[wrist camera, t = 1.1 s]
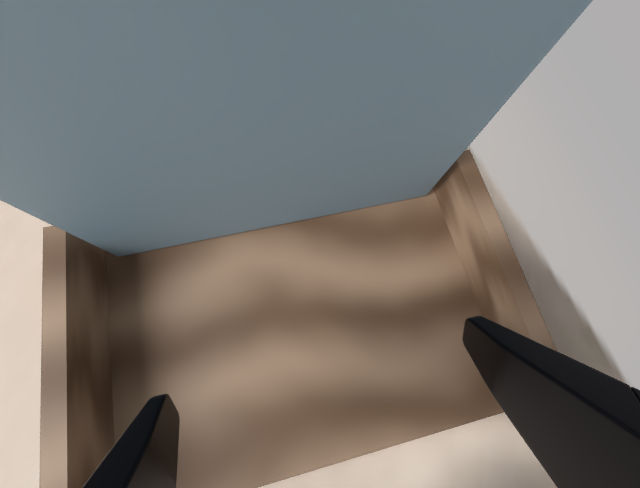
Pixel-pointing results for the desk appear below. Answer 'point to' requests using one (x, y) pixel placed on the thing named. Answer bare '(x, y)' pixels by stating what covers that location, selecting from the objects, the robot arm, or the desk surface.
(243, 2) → the panel
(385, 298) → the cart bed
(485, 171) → the desk surface
